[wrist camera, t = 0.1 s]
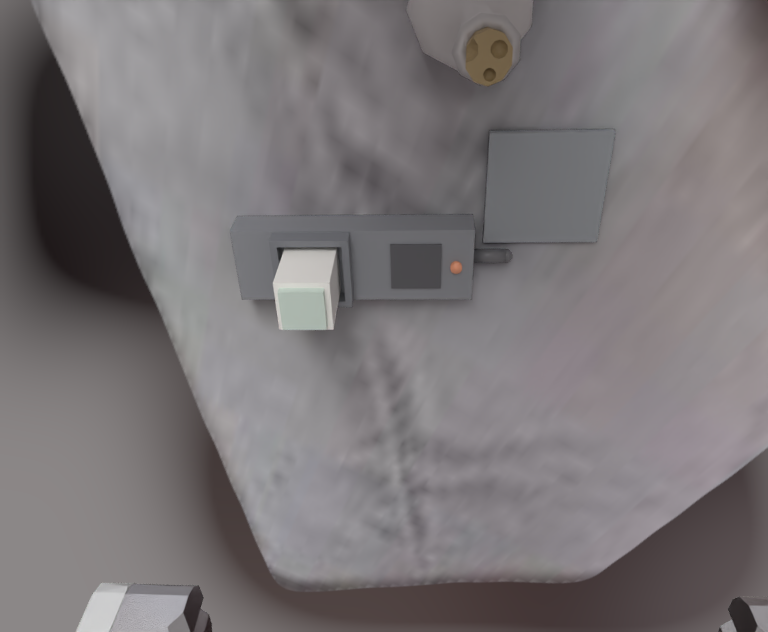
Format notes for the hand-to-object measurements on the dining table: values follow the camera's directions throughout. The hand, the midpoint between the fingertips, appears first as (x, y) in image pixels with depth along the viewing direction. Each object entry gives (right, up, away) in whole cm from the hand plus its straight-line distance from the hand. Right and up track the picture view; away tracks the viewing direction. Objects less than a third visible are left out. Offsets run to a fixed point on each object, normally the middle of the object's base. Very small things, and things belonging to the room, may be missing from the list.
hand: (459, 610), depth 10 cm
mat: (+13, +16, +47) cm, 51 cm away
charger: (-7, +9, +49) cm, 50 cm away
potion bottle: (+5, +28, +39) cm, 48 cm away
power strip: (-2, +11, +51) cm, 52 cm away
